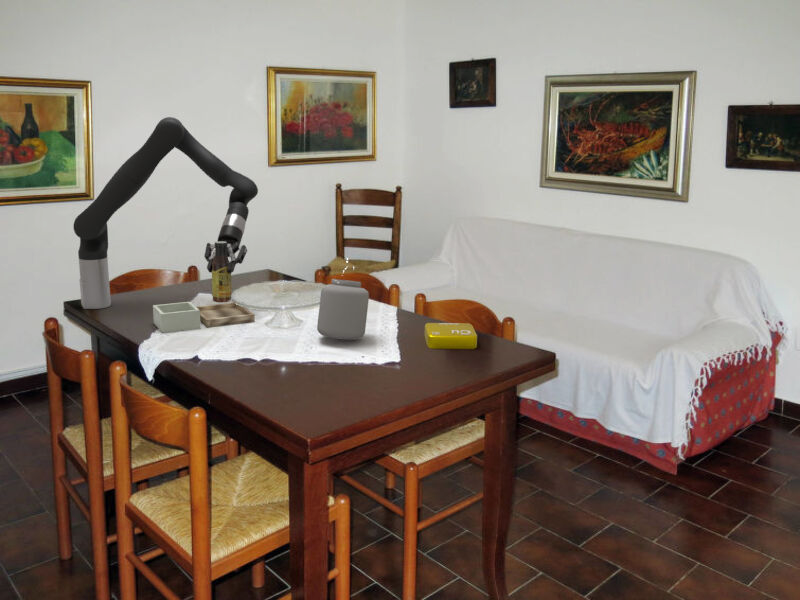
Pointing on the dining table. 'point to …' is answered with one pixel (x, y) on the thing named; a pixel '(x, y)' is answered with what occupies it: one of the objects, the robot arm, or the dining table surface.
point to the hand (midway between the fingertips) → (219, 271)
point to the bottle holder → (176, 317)
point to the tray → (224, 315)
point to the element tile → (450, 336)
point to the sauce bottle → (221, 274)
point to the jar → (343, 310)
